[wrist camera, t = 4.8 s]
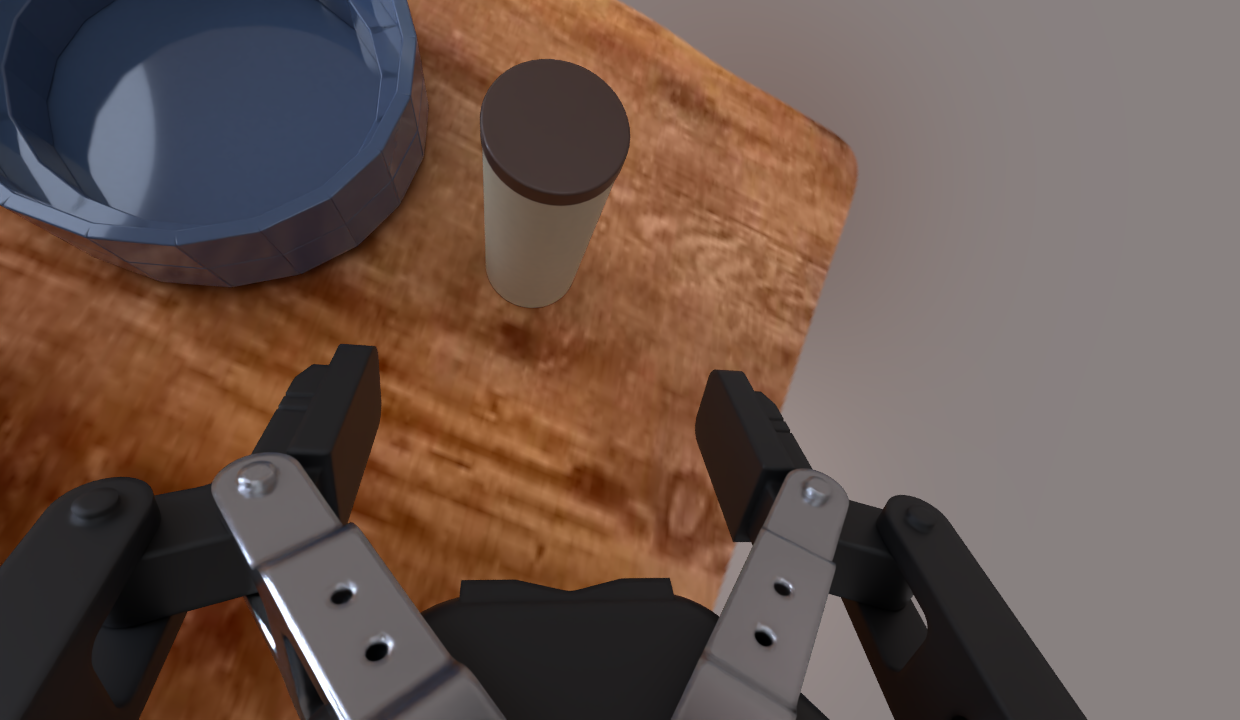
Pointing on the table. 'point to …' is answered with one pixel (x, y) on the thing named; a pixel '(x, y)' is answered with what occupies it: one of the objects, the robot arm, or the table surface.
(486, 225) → the tube
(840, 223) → the table surface
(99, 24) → the bowl
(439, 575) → the table surface
